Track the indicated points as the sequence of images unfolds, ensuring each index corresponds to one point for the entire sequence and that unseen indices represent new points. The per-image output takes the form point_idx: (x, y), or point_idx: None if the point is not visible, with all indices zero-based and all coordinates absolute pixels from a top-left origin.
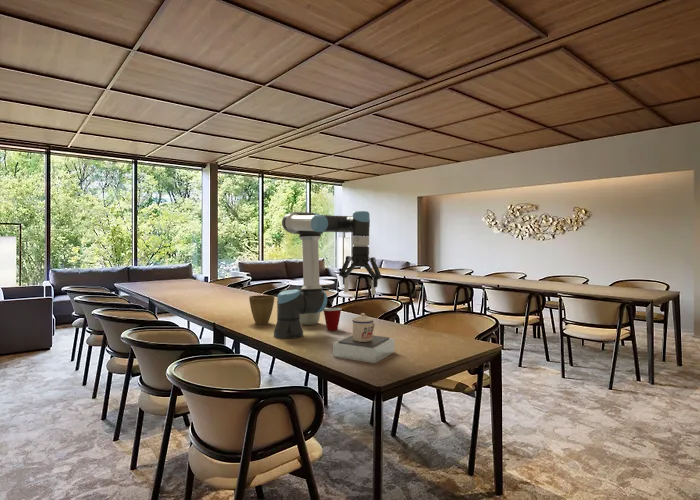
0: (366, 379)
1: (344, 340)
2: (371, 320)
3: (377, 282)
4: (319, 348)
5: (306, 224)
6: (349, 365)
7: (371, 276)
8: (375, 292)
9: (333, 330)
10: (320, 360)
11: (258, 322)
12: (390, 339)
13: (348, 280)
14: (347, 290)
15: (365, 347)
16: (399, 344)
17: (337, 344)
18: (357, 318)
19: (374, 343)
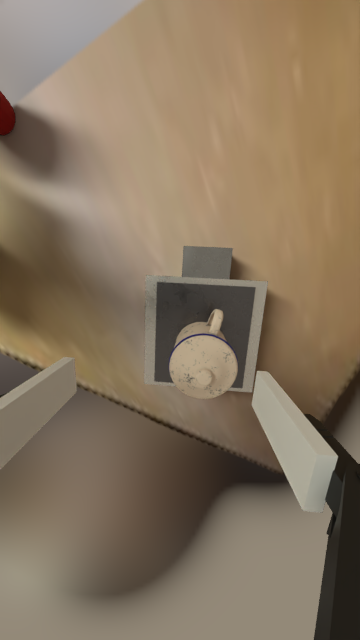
0: (258, 454)
1: (163, 368)
2: (236, 373)
3: (343, 448)
4: (94, 328)
5: None
6: (204, 405)
7: (326, 565)
8: (272, 377)
9: (11, 129)
10: (143, 399)
11: None
12: (260, 293)
13: (9, 409)
14: (69, 375)
15: (227, 390)
16: (249, 197)
17: (156, 383)
18: (191, 389)
19: (239, 364)
